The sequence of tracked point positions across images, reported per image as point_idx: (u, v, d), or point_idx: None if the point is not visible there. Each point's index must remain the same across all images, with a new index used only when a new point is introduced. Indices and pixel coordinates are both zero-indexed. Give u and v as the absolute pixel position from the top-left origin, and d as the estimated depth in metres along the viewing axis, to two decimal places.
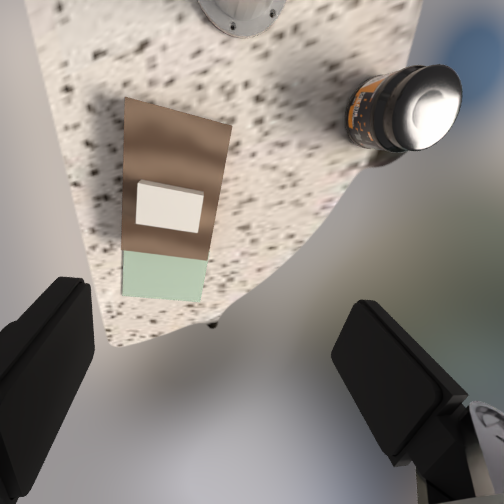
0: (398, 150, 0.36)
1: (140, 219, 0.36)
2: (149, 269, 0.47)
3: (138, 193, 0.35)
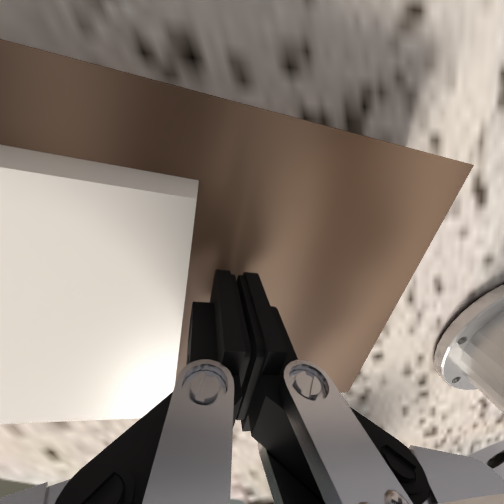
0: None
1: None
2: None
3: (136, 196, 0.06)
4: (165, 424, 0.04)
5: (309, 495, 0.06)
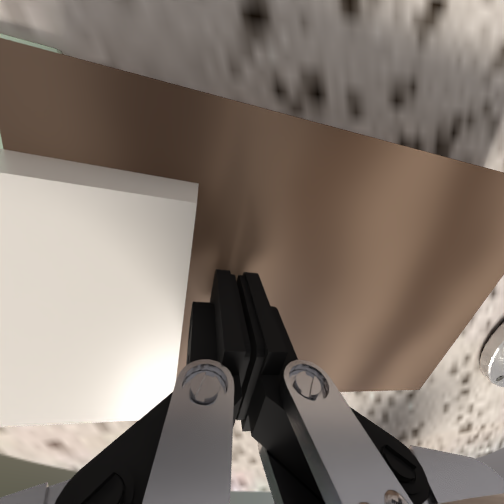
0: None
1: None
2: None
3: (136, 200, 0.06)
4: (165, 424, 0.04)
5: (308, 494, 0.06)
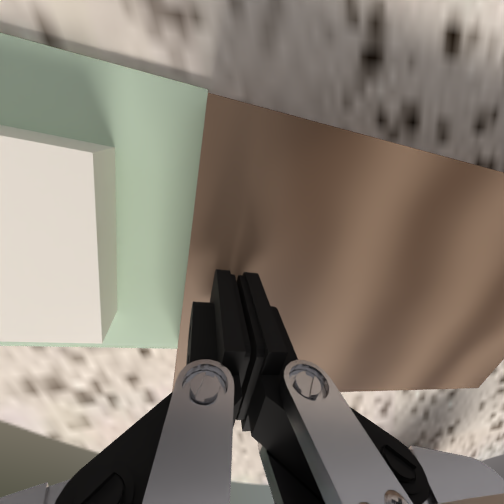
0: None
1: None
2: None
3: None
4: (165, 424, 0.04)
5: (308, 494, 0.06)
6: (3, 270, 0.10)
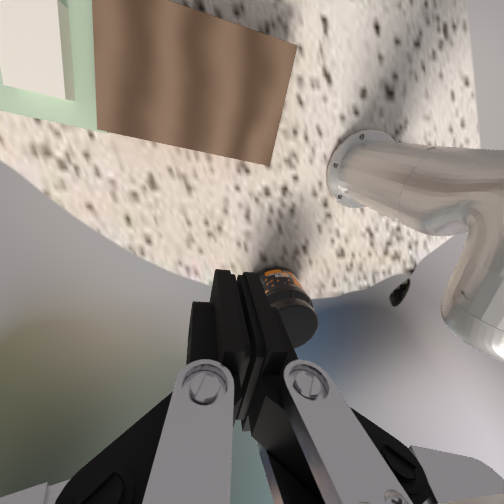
0: None
1: None
2: None
3: None
4: (165, 424, 0.04)
5: (308, 494, 0.06)
6: (25, 50, 0.27)
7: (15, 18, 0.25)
